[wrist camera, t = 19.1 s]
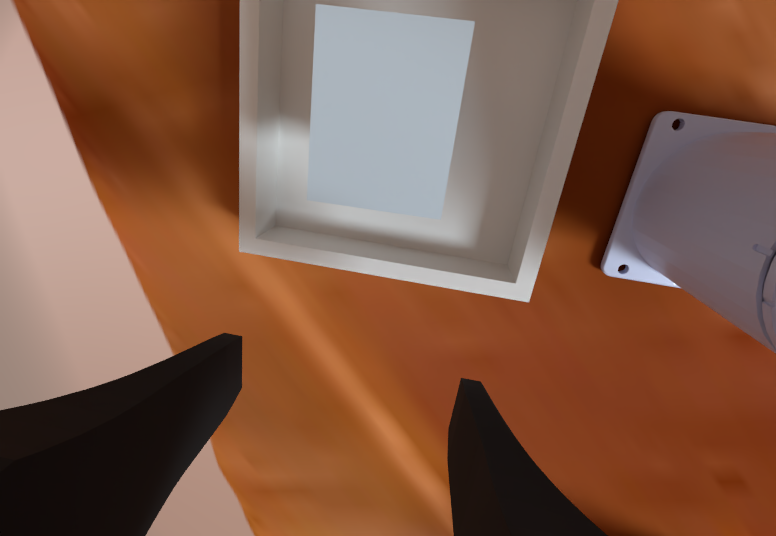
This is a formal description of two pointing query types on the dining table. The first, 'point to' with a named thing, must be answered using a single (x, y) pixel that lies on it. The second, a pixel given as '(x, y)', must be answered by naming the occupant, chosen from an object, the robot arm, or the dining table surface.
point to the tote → (470, 152)
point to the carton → (385, 108)
